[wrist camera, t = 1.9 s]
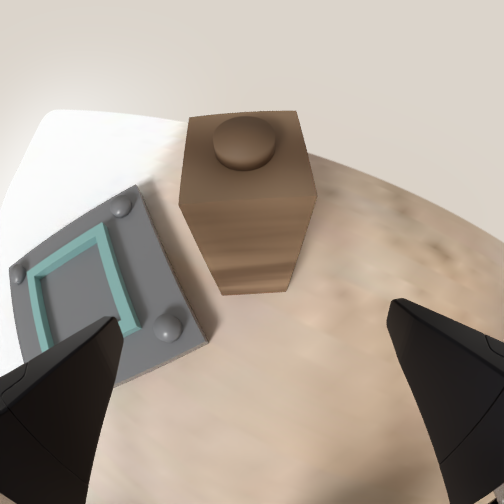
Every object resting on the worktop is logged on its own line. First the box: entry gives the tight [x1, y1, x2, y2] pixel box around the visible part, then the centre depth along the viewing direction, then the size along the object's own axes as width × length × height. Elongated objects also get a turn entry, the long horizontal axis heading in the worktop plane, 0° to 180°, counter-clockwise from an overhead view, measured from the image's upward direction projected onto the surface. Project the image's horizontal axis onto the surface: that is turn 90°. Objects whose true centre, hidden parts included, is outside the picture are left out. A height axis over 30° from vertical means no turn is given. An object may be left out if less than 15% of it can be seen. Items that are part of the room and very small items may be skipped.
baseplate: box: [9, 185, 209, 388], centre depth 20 cm, size 18×16×2 cm
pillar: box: [179, 111, 317, 296], centre depth 16 cm, size 5×5×14 cm
